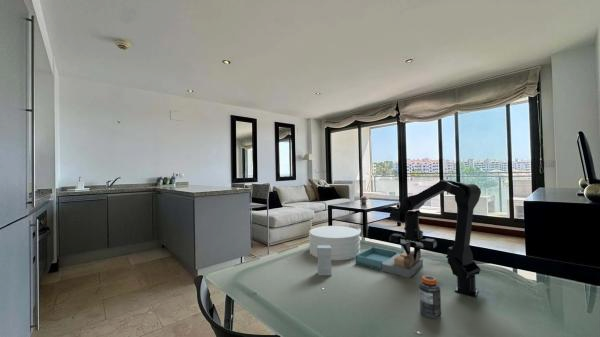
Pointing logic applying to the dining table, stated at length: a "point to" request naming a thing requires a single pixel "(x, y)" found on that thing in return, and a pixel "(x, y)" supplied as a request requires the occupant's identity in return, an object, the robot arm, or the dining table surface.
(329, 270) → the skincare box
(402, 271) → the platform
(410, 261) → the scraper bar
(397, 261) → the tile
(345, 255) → the plate stack
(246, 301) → the dining table surface
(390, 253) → the box
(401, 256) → the tile
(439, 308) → the pill bottle
